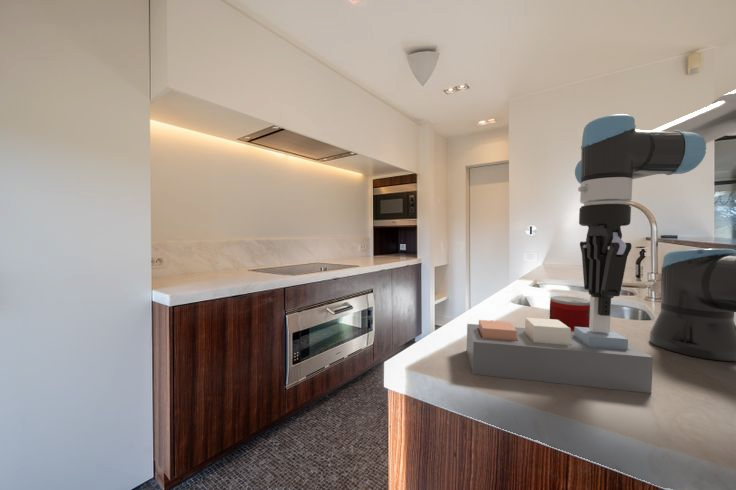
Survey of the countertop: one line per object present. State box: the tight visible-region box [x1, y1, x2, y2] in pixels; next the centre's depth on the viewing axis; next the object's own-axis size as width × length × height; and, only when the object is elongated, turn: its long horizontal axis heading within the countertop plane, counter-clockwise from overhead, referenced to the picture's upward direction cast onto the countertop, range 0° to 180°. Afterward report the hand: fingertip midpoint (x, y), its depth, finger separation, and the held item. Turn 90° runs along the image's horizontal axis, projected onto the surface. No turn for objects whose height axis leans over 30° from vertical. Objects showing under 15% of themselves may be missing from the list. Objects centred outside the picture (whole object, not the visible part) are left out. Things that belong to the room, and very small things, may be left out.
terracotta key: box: [478, 319, 517, 341], centre depth 61 cm, size 6×6×5 cm
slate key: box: [574, 327, 629, 350], centre depth 57 cm, size 6×6×5 cm
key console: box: [466, 323, 654, 394], centre depth 59 cm, size 28×12×6 cm, turn 77°
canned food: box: [549, 295, 590, 332], centre depth 73 cm, size 8×8×11 cm
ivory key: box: [524, 317, 571, 345], centre depth 59 cm, size 6×6×5 cm
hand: (599, 331), depth 57 cm, fingers closed
